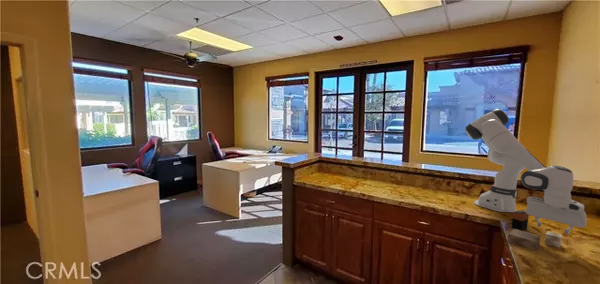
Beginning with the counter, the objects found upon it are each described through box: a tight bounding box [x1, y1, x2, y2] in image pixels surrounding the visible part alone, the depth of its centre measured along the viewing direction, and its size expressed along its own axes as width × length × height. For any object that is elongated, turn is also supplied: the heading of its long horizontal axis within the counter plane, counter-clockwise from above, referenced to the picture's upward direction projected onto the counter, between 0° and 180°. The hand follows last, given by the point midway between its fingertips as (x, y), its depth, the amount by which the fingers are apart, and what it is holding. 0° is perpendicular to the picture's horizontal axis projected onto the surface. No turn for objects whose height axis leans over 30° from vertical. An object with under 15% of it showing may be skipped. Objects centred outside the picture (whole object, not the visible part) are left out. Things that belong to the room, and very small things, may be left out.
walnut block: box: [507, 228, 541, 252], centre depth 123 cm, size 10×10×4 cm
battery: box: [511, 209, 530, 231], centre depth 139 cm, size 4×7×10 cm, turn 116°
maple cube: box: [544, 230, 563, 249], centre depth 123 cm, size 5×5×5 cm
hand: (552, 229), depth 123 cm, fingers open, 8 cm apart
